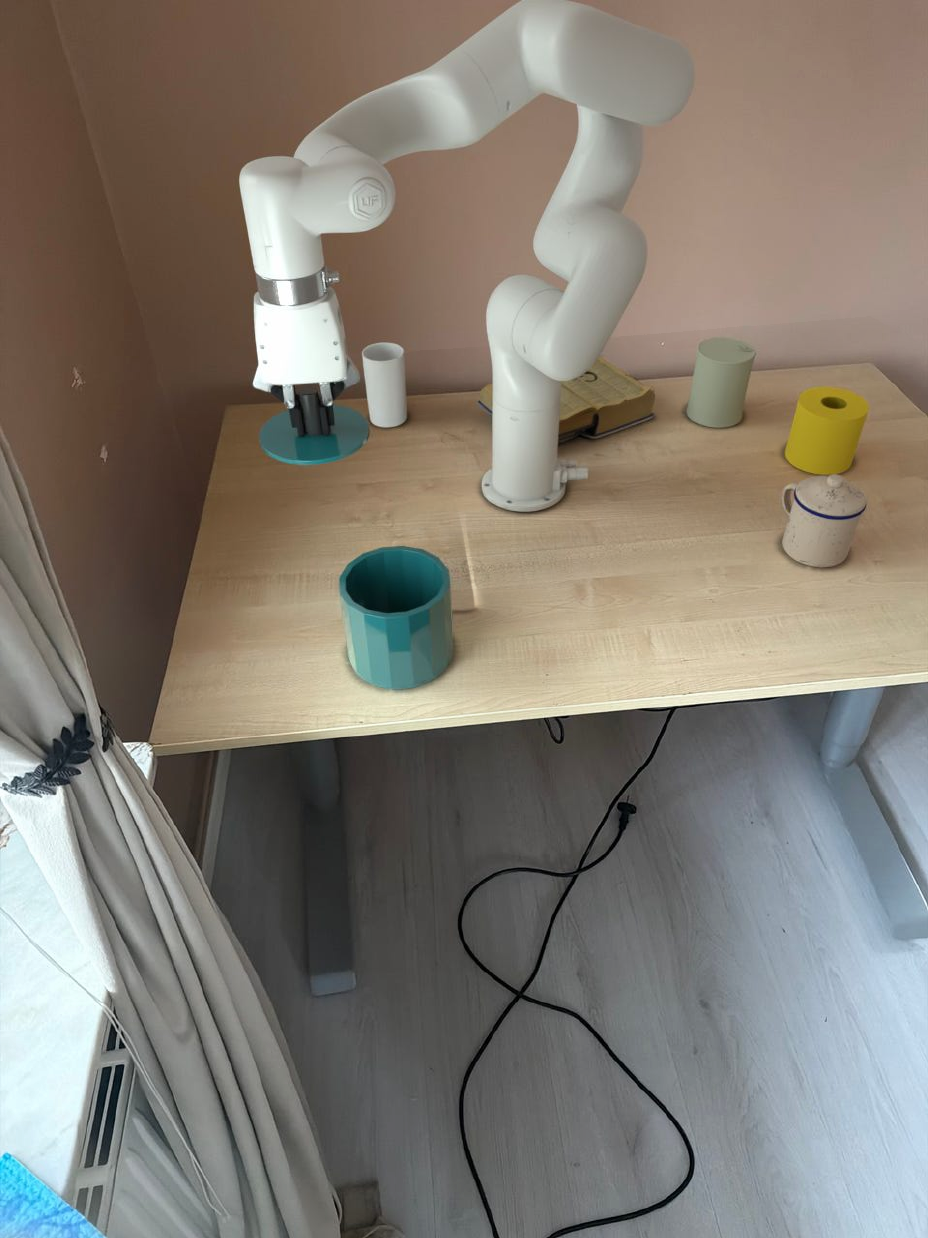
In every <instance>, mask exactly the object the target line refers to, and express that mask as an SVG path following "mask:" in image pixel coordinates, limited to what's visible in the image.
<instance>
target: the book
mask: <svg viewBox="0 0 928 1238" xmlns="http://www.w3.org/2000/svg"><path fill="white" fill-rule="evenodd" d="M651 388H652V385H645V384H643V383H641V382H639V381H638V380H636V379H635V378H634V377H632V376H629V374H627V372H625V371H624V370H623V369H621V368H619V367H617V366H616V365H614V364H612V363H610V362H609V361H608V360H607V359H605V358H604V357H603V356H602V355H601V354H600V356H599V357H598V359H597V360H596V361H595V363H594V364H593V365H592V367H591V368H590V369H589V370H588V371H587V372H585V373H584V374H583V375H582V376H580V377H578V378H576V379H574V380H571V381H562V387H561V401H560V417H559V433H558V444H559V443H564V442H566V441H569V440H571V439H574V438H577V437H578V436H580V435H581V436H583V437H586V438H589V439H593V440H596V439H600V438H603V437H605V436H608V435H611V434H614V433H616V432H619V431H622V430H626V429H628V428H630V427H633V426H635V425H638V424H640V423H644V422H647V421H648V420H651V419H653V418H654V416H655V413H653V409H654V405H655V401H656V393H655V391H654V390H652V389H651ZM479 396H480V398H479V400H477V401H476V404H477V405H478V406H479V407H480V408H481V409H482V410H484V412H486V413H487V414H489V415H490V416H491V417H492V413H493V382H492V383H487V384H486V385H485V387H482V388H481V389H480V395H479Z"/></svg>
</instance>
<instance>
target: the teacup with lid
mask: <svg viewBox="0 0 928 1238" xmlns="http://www.w3.org/2000/svg"><path fill="white" fill-rule="evenodd" d="M792 490H793V501H791V495H792ZM781 503H782V507H783V509H784V511H785V513H786V514H787V516H788V519H787V523H786V527H785V530H784V533H783V537H782V541H781V542H782V543H781V544H782V547H783V550H784V552H785V553H786V554H787V555H788V556H789V557H790V558H791V559H793V560H794V561H796V562H798V563H800V564H803V565H805V566H809V567H812V568H813V567H814V568H830V567H835V566H838V565H839V564H841V563H843V562H844V561H845V560H846V559H847V557H848V555H849V552H850V549H851V546H852V543H853V541H854V538H855V535H856V532H857V529H858V526H859V523H860V520H861V517H862V515H863V513H864V512H865V510H866V508H867V505H868V504H867V498H866V494H865V493H864V491H863V490H862V489H861V488H860V486H858V485H856V484H855V483H853V482H851V481H849V480H848V479H844V477H843V476H842V475H840V474H833V475H815V476H809V477H807V478H804V479H803V480H802V481H800V482H799V483H798V482H791V483H788V484H787V485H785V486H784V488H783V489H782V493H781Z"/></svg>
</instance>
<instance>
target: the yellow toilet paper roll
mask: <svg viewBox="0 0 928 1238" xmlns="http://www.w3.org/2000/svg"><path fill="white" fill-rule="evenodd" d="M869 411H870V405H869V403H868V401H867V400H866V399H865V398H864V397H863V396H861V395H860V394H858V393H855V392H854V391H851V390H849V389H845V388H839V387H836V386H835V387H834V386H815V387H811V388H808V389H805V390H804V391H803V392H801V393H800V394H799V396H798V400H797V404H796V408H795V411H794V412H795V413H794V414H793V418H792V423H791V427H790V431H789V435H788V439H787V442H786V446H785V450H784V457H785V459H786V460H787V461H788V463H789V464H791V465H792V466H793V467H794V468H797V469H799V470H801V471H803V472H806V473H809V474H814V475H818V476H830V475H833V474H836V475H840V474H842V473H844V472H846V471H848V470H849V469H850V468H851V466H852V463H853V460H854V457H855V454H856V452H857V448H858V444H859V441H860V438H861V435H862V432H863V429H864V426H865V424H866V420H867V416H868V413H869Z"/></svg>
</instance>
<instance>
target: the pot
mask: <svg viewBox="0 0 928 1238" xmlns="http://www.w3.org/2000/svg"><path fill="white" fill-rule="evenodd" d="M451 589H452V587H451V577H450V570H449V568H448V567H447V566H446V565H445V563H444V562H443V561H442V560H441V558H440V557H439V556H437V555H435V554H433V553H431V552H430V551H427V550H425V549H424V548H418V547H414V546H413V547H412V546H407V545H394V546H393V545H392V546H382V547H379V548H375V549H372V550H369V551H366V552H363V553H362V554H360V555H359V556H357V557H356V558H354V559H353V560H351V561H350V562H348V563H347V565H345V568H344V569H343V570H342V572H341V574H340V576H339V578H338V594H339V601H340V608H341V615H342V621H343V628H344V635H345V642H346V649H347V657H348V661H349V662H350V665H351V668H352V670H353V671H354V672H355V674H356V675H357V676H358V677H359V678H360V679H362V680H363V681H365V682H366V683H369V684H370V685H373V686H374V687H378V688H382V689H385V690H386V689H387V690H408V689H413V688H417V687H421V686H423V685H426V684H427V683H430V682H432V681H434V680H435V679H437V678H438V677H439V676H441V675H442V674H443V673H444V671H445V670H446V669H447V667H449V664H450V662H451V660H452V656H453V652H454V645H453V644H454V643H453V641H454V640H453V618H452V617H453V615H452V590H451Z"/></svg>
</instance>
